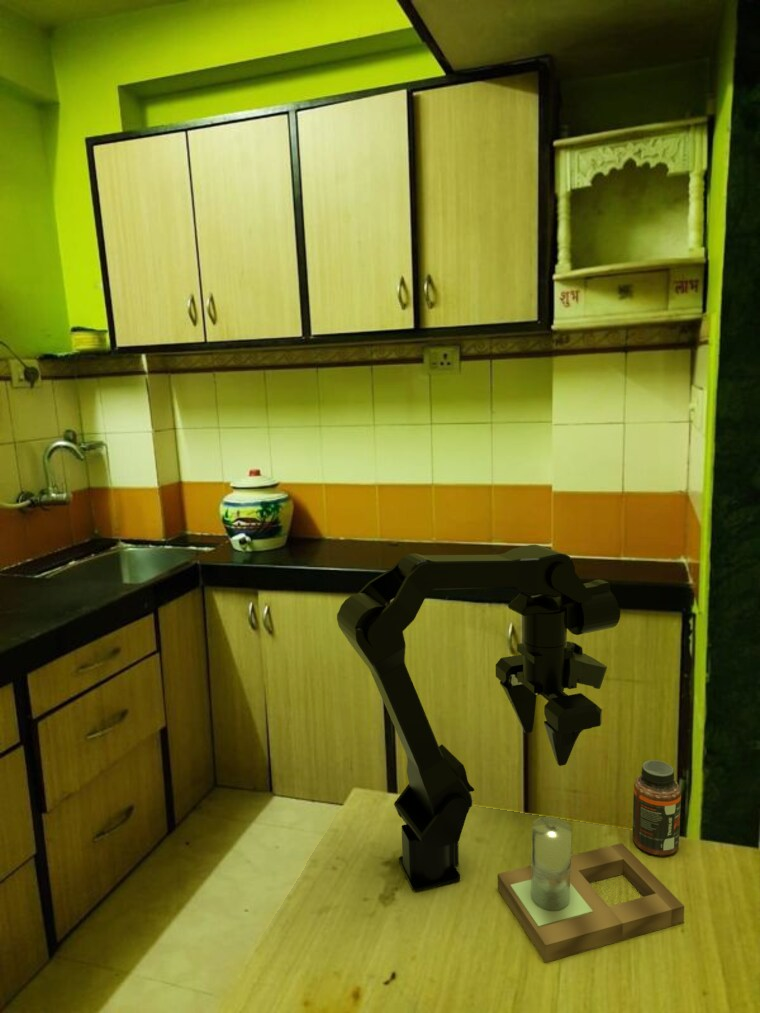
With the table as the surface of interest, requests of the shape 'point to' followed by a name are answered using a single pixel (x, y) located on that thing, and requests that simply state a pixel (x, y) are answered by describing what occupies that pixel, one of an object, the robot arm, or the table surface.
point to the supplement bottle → (656, 809)
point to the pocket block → (591, 905)
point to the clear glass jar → (551, 863)
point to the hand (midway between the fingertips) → (544, 747)
